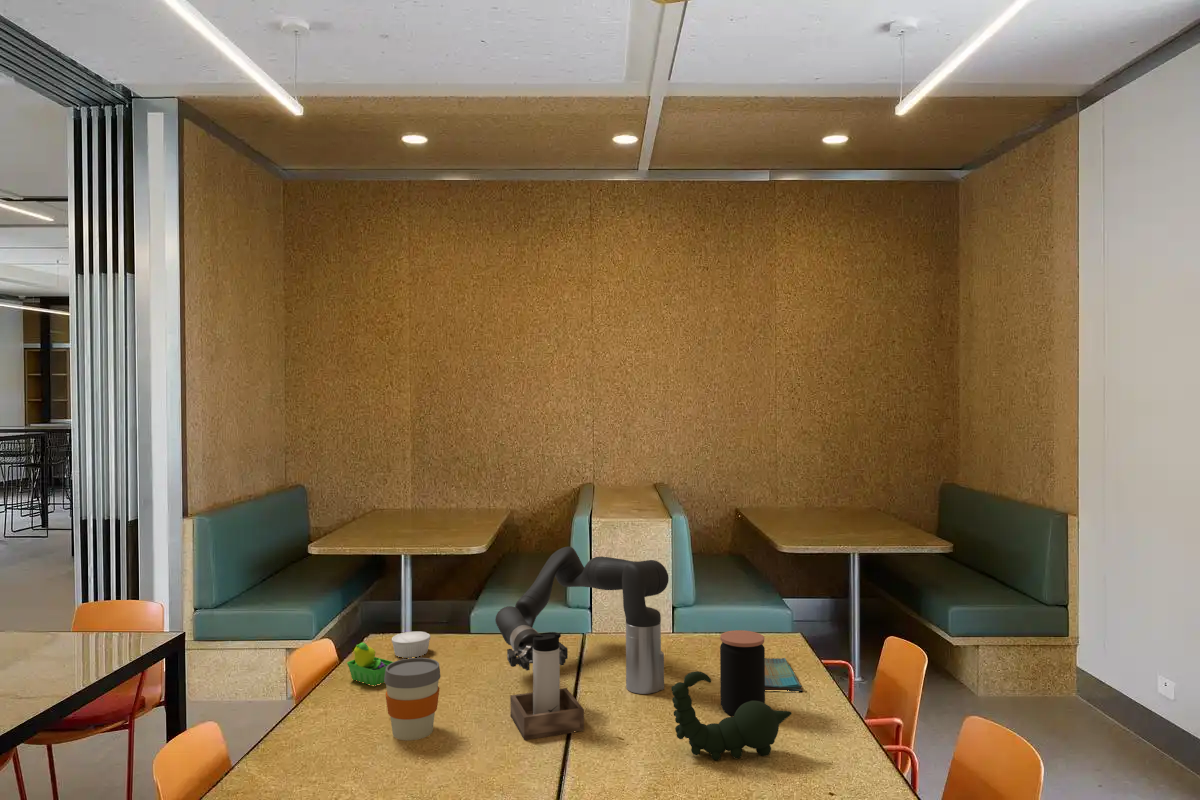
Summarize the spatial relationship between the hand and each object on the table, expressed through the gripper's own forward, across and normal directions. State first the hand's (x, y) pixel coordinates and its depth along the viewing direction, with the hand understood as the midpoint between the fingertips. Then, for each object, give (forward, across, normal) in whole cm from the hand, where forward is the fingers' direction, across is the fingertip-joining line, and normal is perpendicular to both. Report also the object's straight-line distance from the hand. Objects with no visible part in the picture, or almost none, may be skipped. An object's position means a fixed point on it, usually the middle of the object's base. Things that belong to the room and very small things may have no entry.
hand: (545, 663), depth 182 cm
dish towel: (-7, -64, -15) cm, 66 cm away
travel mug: (+1, 0, -13) cm, 13 cm away
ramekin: (-62, +24, -14) cm, 68 cm away
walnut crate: (+2, 0, -14) cm, 14 cm away
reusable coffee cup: (-5, +30, -13) cm, 34 cm away
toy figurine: (+31, -32, -14) cm, 47 cm away
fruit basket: (-42, +38, -14) cm, 58 cm away
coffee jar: (+12, -46, -14) cm, 50 cm away
